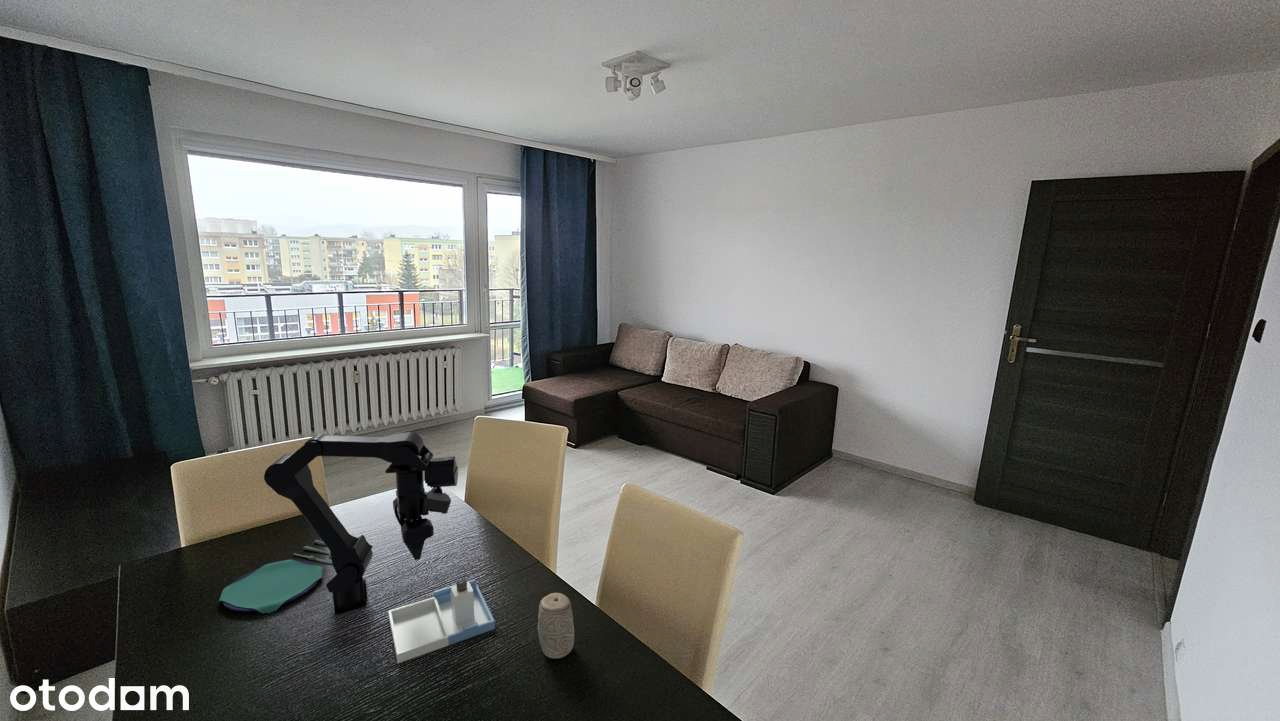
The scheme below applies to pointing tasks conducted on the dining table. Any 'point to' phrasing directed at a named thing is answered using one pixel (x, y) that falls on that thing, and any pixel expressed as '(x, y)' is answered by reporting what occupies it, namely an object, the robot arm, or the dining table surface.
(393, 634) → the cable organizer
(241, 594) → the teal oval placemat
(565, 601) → the carving
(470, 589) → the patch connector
